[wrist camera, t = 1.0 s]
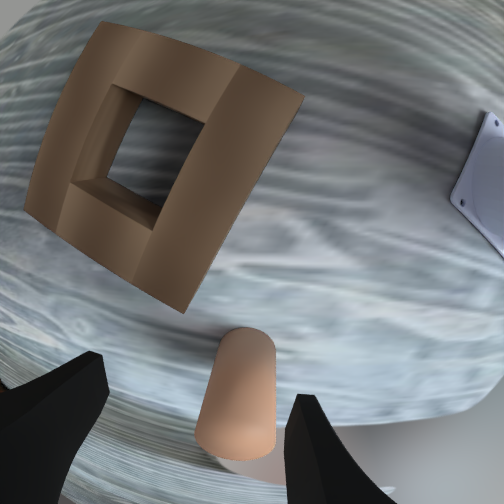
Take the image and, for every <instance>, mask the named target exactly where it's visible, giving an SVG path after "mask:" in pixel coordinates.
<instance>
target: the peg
mask: <svg viewBox="0 0 504 504" xmlns="http://www.w3.org/2000/svg"><path fill="white" fill-rule="evenodd" d="M194 435H195V439H196V441H197V443H198V444H199V445H200V446H201V447H202V448H203V449H204V450H206V451H207V452H209V453H211V454H213V455H215V456H217V457H221V458H224V459H229V460H236V461H237V460H238V461H246V460H253V459H257V458H261V457H263V456H265V455H267V454H268V453H270V452H271V451H272V450H273V448H274V446H275V442H276V348H275V345H274V342H273V341H272V339H271V338H270V337H269V336H268V335H267V334H265V333H264V332H262V331H260V330H257V329H254V328H238V329H234V330H232V331H230V332H228V333H227V334H226V335H225V336H223V338H222V339H221V341H220V344H219V347H218V351H217V354H216V358H215V361H214V365H213V368H212V372H211V375H210V379H209V382H208V386H207V389H206V393H205V397H204V400H203V404H202V407H201V411H200V414H199V418H198V421H197V425H196V429H195V433H194Z"/></svg>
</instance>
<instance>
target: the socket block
mask: <svg viewBox="0 0 504 504" xmlns="http://www.w3.org/2000/svg"><path fill="white" fill-rule="evenodd" d="M304 97H305V96H304V95H302V94H300V93H298V92H297V91H295V90H293V89H291V88H289V87H287V86H285V85H283V84H281V83H279V82H277V81H275V80H273V79H271V78H269V77H267V76H265V75H263V74H261V73H259V72H257V71H254V70H252V69H250V68H248V67H246V66H243V65H241V64H239V63H236V62H234V61H232V60H229V59H227V58H224V57H222V56H219V55H217V54H214V53H212V52H209V51H206V50H204V49H201V48H198V47H195V46H193V45H190V44H187V43H184V42H181V41H178V40H175V39H171V38H168V37H165V36H162V35H158V34H155V33H151V32H147V31H144V30H140V29H136V28H132V27H127V26H123V25H119V24H114V23H109V22H104V21H101V22H100V24H99V25H98V27H97V28H96V30H95V32H94V33H93V35H92V36H91V38H90V40H89V41H88V43H87V45H86V47H85V48H84V50H83V52H82V54H81V55H80V57H79V59H78V61H77V63H76V65H75V66H74V68H73V70H72V72H71V74H70V76H69V78H68V80H67V82H66V85H65V87H64V89H63V91H62V93H61V95H60V98H59V100H58V102H57V104H56V107H55V109H54V112H53V114H52V117H51V119H50V122H49V124H48V127H47V130H46V132H45V135H44V138H43V141H42V144H41V147H40V150H39V153H38V156H37V159H36V162H35V166H34V169H33V173H32V176H31V180H30V184H29V188H28V192H27V196H26V201H25V205H24V211H25V212H27V213H28V214H29V215H31V216H32V217H33V218H35V219H36V220H37V221H39V222H40V223H41V224H43V225H44V226H45V227H47V228H48V229H49V230H51V231H52V232H54V233H55V234H56V235H58V236H59V237H61V238H62V239H63V240H65V241H66V242H68V243H69V244H71V245H72V246H73V247H75V248H76V249H78V250H79V251H81V252H82V253H84V254H85V255H87V256H88V257H90V258H91V259H93V260H94V261H96V262H97V263H99V264H100V265H102V266H103V267H105V268H107V269H108V270H110V271H111V272H113V273H114V274H116V275H118V276H119V277H121V278H122V279H124V280H126V281H127V282H129V283H131V284H132V285H134V286H135V287H137V288H139V289H140V290H142V291H144V292H146V293H147V294H149V295H151V296H152V297H154V298H156V299H157V300H159V301H161V302H163V303H164V304H166V305H168V306H170V307H172V308H173V309H175V310H177V311H179V312H181V313H182V314H184V313H185V311H186V309H187V308H188V306H189V304H190V302H191V300H192V299H193V297H194V295H195V293H196V292H197V290H198V288H199V286H200V285H201V283H202V281H203V279H204V277H205V275H206V273H207V272H208V270H209V268H210V266H211V264H212V262H213V260H214V258H215V257H216V255H217V253H218V251H219V249H220V247H221V246H222V244H223V242H224V240H225V238H226V236H227V234H228V233H229V231H230V229H231V227H232V225H233V224H234V222H235V220H236V218H237V216H238V214H239V213H240V211H241V209H242V207H243V205H244V204H245V202H246V200H247V198H248V197H249V195H250V193H251V191H252V189H253V188H254V186H255V184H256V182H257V181H258V179H259V177H260V175H261V174H262V172H263V170H264V168H265V167H266V165H267V163H268V161H269V160H270V158H271V156H272V154H273V153H274V151H275V149H276V147H277V146H278V144H279V142H280V141H281V139H282V137H283V135H284V134H285V132H286V130H287V129H288V127H289V125H290V124H291V122H292V120H293V119H294V117H295V115H296V113H297V112H298V110H299V108H300V106H301V104H302V102H303V100H304ZM143 98H145V99H148V100H150V101H153V102H155V103H157V104H160V105H162V106H164V107H166V108H169V109H171V110H173V111H175V112H178V113H180V114H182V115H184V116H186V117H189V118H191V119H193V120H195V121H197V122H199V123H201V124H203V125H204V127H203V129H202V131H201V132H200V134H199V136H198V138H197V140H196V142H195V143H194V145H193V147H192V149H191V151H190V153H189V155H188V157H187V159H186V161H185V163H184V165H183V167H182V169H181V171H180V173H179V175H178V177H177V179H176V181H175V183H174V185H173V187H172V189H171V191H170V193H169V195H168V197H167V200H166V202H165V204H164V206H163V208H161V207H159V206H157V205H156V204H154V203H152V202H150V201H148V200H147V199H145V198H143V197H141V196H139V195H138V194H136V193H134V192H132V191H130V190H129V189H127V188H125V187H123V186H121V185H120V184H118V183H116V182H114V181H113V180H111V179H109V178H107V175H108V172H109V170H110V167H111V165H112V162H113V160H114V158H115V155H116V153H117V151H118V148H119V146H120V144H121V142H122V139H123V137H124V135H125V133H126V131H127V129H128V127H129V125H130V122H131V120H132V118H133V116H134V114H135V112H136V110H137V108H138V107H139V105H140V103H141V101H142V99H143Z"/></svg>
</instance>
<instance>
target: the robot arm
mask: <svg viewBox="0 0 504 504" xmlns="http://www.w3.org/2000/svg"><path fill="white" fill-rule="evenodd" d="M494 122H495V123H496V125H495V123H494ZM450 200H451V203H452V204H453V205H454V206H455V207H456V208H457V209H458V210H459V211H460V212H461V213H462V214H463V215H464V216H465V217H466V218H467V219H468V220H469V221H470V222H471V223H472V224H473V225H474V226H475V227H476V228H477V229H478V230H479V231H480V232H481V233H482V234H483V235H484V236H485V237H486V238H487V239H488V241H489V242H490V243H491V244H492V245H493V246H494V247H495V248H496V250H497V251H498V252H499V253H500V254H501V255H502V256H503V258H504V125H503V124H502V123H501V121H500V120H499V119H498V118H497V117H496V115H495V114H494V113H493V112H487V113H486V115H485V118H484V120H483V123H482V126H481V128H480V131H479V133H478V136H477V138H476V141H475V143H474V146H473V148H472V150H471V153H470V155H469V157H468V159H467V162H466V164H465V166H464V168H463V170H462V173H461V175H460V177H459V179H458V181H457V183H456V185H455V187H454V189H453V191H452V193H451V196H450ZM461 200H462V205H460V201H461ZM109 393H110V391H109V387H108V382H107V377H106V372H105V367H104V362H103V356H102V355H101V354H98V353H95V352H92V351H87V352H85V353H83V354H81V355H80V356H78V357H76V358H74V359H72V360H71V361H69V362H67V363H65V364H63V365H62V366H60V367H58V368H56V369H54V370H52V371H50V372H49V373H47V374H45V375H43V376H41V377H38V378H36V379H34V380H32V381H30V382H28V383H26V384H23V385H21V386H18V387H16V388H13V389H10V390H7V391H4V392H1V393H0V504H58V500H59V496H60V493H61V490H62V487H63V484H64V481H65V478H66V476H67V473H68V471H69V468H70V466H71V464H72V461H73V459H74V457H75V455H76V453H77V451H78V450H79V448H80V446H81V445H82V443H83V441H84V440H85V438H86V437H87V435H88V433H89V432H90V430H91V428H92V427H93V425H94V424H95V422H96V420H97V419H98V417H99V415H100V414H101V412H102V409H103V407H104V405H105V403H106V400H107V398H108V396H109ZM284 460H285V473H286V487H287V500H288V504H397V503H395V502H394V501H393V500H392V499H391V498H390V497H388V496H387V495H386V494H385V493H384V492H383V491H382V490H380V489H379V488H378V487H377V486H376V485H375V484H374V483H373V482H372V480H370V478H369V477H368V476H367V475H366V474H365V473H364V472H363V470H362V469H361V468H360V467H359V466H358V464H357V463H356V462H355V460H354V459H353V458H352V456H351V455H350V454H349V452H348V451H347V450H346V448H345V447H344V445H343V444H342V442H341V440H340V439H339V437H338V436H337V435H336V433H335V431H334V429H333V428H332V426H331V424H330V422H329V421H328V419H327V417H326V415H325V413H324V412H323V410H322V408H321V406H320V404H319V402H318V400H317V398H316V397H315V395H307V394H297V396H296V399H295V402H294V405H293V408H292V411H291V414H290V416H289V419H288V422H287V425H286V428H285V440H284Z"/></svg>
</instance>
